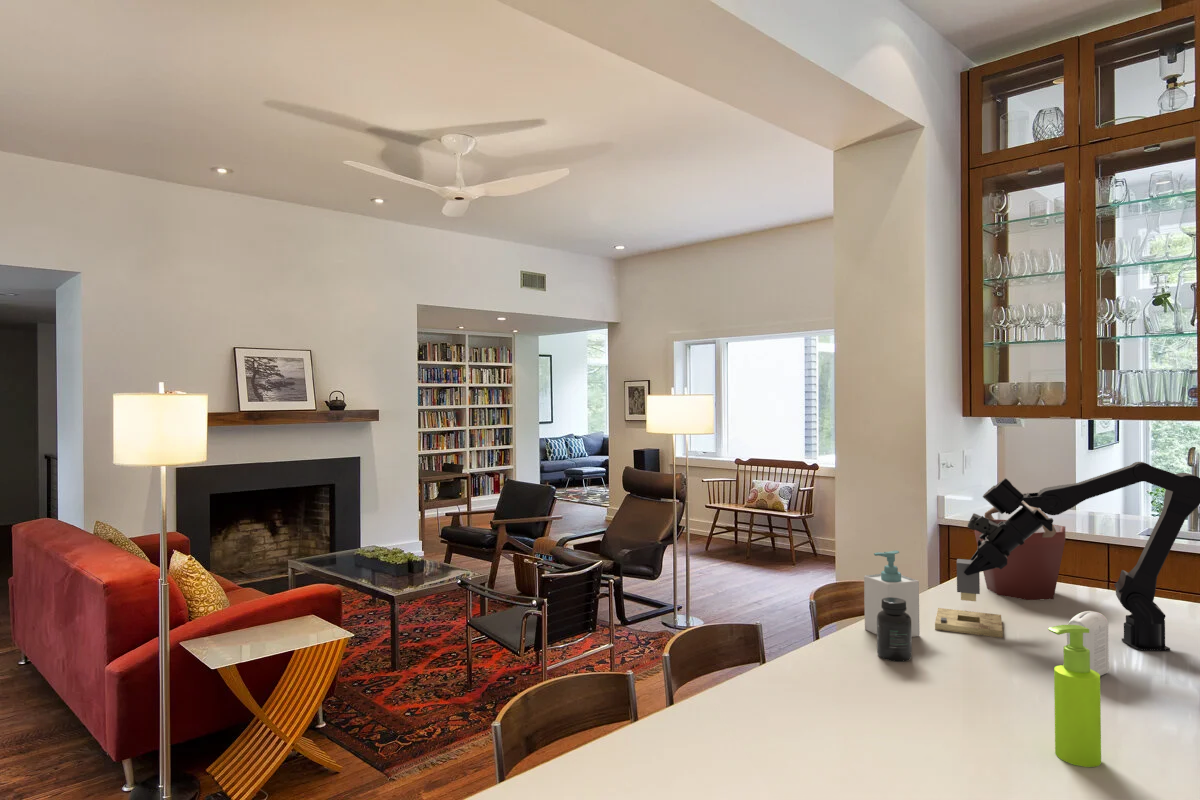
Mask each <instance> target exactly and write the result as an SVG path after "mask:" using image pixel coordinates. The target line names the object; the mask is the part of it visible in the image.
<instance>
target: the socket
mask: <svg viewBox="0 0 1200 800" xmlns="http://www.w3.org/2000/svg"><path fill="white" fill-rule="evenodd" d="M935 616H936V617H935V622H934V630H936V631H945V632H954V633H959V634H961V633H962V634H970V635H976V636H985V637H992V638H1000V639H1001V638H1004V637H1003V622H1002V621H1003V620H1002V614H997V613H996V614H995V613H986V612H979V611H977V612H976V611H968V610H959V609H953V608H952V609H951V608H942V607H938V608H937V613H936V615H935Z"/></svg>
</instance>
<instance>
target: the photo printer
mask: <svg viewBox="0 0 1200 800" xmlns="http://www.w3.org/2000/svg"><path fill="white" fill-rule="evenodd" d="M1067 625H1080V626H1083V627H1085V628H1088V629H1089V633H1083V646H1084V647H1086V648H1087V649H1089V650H1090V669H1091V670H1094V671H1096V672H1097V673H1099V674H1100V677H1101V676H1104V675H1106V674H1108V672H1109V669H1110V662H1109V661H1110V660H1109V657H1110V654H1109V653H1110V652H1109V651H1110V650H1109V649H1110V648H1109V621H1108V619H1107V617H1106V616H1105V615H1104V614H1102V613H1100V612H1098V611H1093V610H1085V611H1082V612H1080V613H1077V614H1076V615H1074V616H1073V617H1072V618H1071V619H1070V620H1069V622H1068V623H1067ZM1068 644H1070V633H1066V645H1068Z"/></svg>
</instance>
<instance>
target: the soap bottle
mask: <svg viewBox="0 0 1200 800" xmlns="http://www.w3.org/2000/svg"><path fill="white" fill-rule="evenodd" d="M897 554H900V551H899V550H891V551H883V552H880V551H879V552H875V553H873V555H874V556H876V557H878V556H879V557H883V558H886V561H887V563H888V564H885V565H884V568H883V569H884V570H881V572H880V573H876V574H867V575H864V576H863V587H864V588H863V591H864V592H863V593H864V595H863V596H864V598H863V599H864V601H863V603H864V605H863V606H864V630H866V631H868V632H870V633H872V634H875V635H877V614H878V613H879V612H880V611H882V610H883V609H882V608H881V605H882V599H883V598H887V597H893V598H900V599H903V600H905V601H906V607H907V610H906V611H905V612H906V613H907V614H909V616H910V617H911V630H912V638H915V637H920V632H921V631H920V628H921V627H920V581H919V580H918V579H915V578H912V577H908V576H905V575H903V574H902V573H901V572H900V571H899V569H898V566H896V565H894V563H895V561H896V555H897Z"/></svg>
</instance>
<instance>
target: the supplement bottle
mask: <svg viewBox="0 0 1200 800" xmlns="http://www.w3.org/2000/svg"><path fill="white" fill-rule="evenodd" d="M881 608H882V609H883V610H882V611H880V612H879V613H878V614H877V634H876V649H877V650H876V651H877V652H876V653H877V656H879V657H880V658H882V659H883V660H885V661H890V662H898V663H900V662H903V663H904V662H909V661H910V660H911V659H912V654H913V653H912V652H913V648H912V647H913V644H912V642H913V640H912V638H913V637H912V630H911V617H910V616H909V614H907V613H906V612H905V611H906V610H907V607H906V601H905V600H903V599H900V598H893V597H887V598H883V599H882V605H881Z"/></svg>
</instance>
